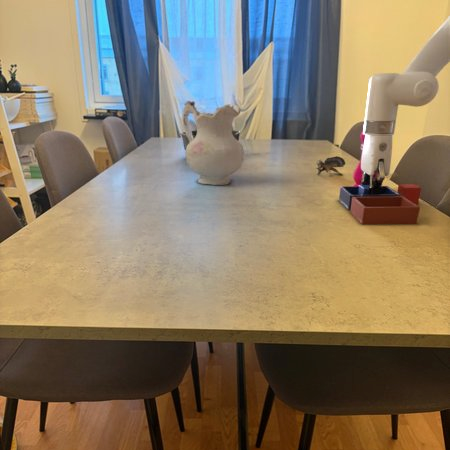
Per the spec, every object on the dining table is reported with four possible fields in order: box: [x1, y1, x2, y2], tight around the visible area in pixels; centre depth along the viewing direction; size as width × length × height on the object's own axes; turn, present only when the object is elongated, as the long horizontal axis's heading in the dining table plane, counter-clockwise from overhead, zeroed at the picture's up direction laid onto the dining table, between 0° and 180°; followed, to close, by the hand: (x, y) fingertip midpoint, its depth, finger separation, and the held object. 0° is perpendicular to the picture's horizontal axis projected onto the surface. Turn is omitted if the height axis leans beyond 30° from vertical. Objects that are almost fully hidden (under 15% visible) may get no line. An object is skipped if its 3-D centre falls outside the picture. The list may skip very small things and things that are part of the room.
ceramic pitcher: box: [181, 100, 245, 186], centre depth 141 cm, size 22×20×25 cm
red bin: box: [349, 196, 421, 225], centre depth 107 cm, size 13×10×4 cm
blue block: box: [358, 185, 370, 195], centre depth 117 cm, size 4×4×4 cm
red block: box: [396, 183, 422, 205], centre depth 120 cm, size 4×4×4 cm
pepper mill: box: [352, 130, 378, 186], centre depth 129 cm, size 7×7×20 cm
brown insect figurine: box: [315, 155, 347, 177], centre depth 153 cm, size 8×7×9 cm
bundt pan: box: [180, 129, 241, 152], centre depth 191 cm, size 26×26×10 cm
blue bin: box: [338, 185, 401, 212], centre depth 117 cm, size 13×10×4 cm
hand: (369, 198), depth 117 cm, fingers open, 5 cm apart
